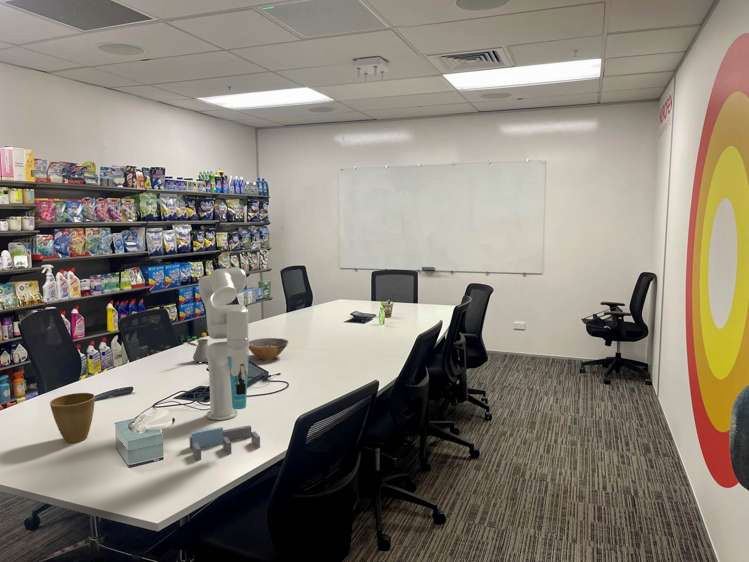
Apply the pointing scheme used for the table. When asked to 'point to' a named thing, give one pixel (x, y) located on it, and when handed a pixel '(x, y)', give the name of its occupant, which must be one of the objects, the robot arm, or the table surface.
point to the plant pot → (73, 415)
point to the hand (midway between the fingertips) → (239, 391)
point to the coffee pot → (200, 350)
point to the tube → (237, 400)
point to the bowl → (267, 347)
